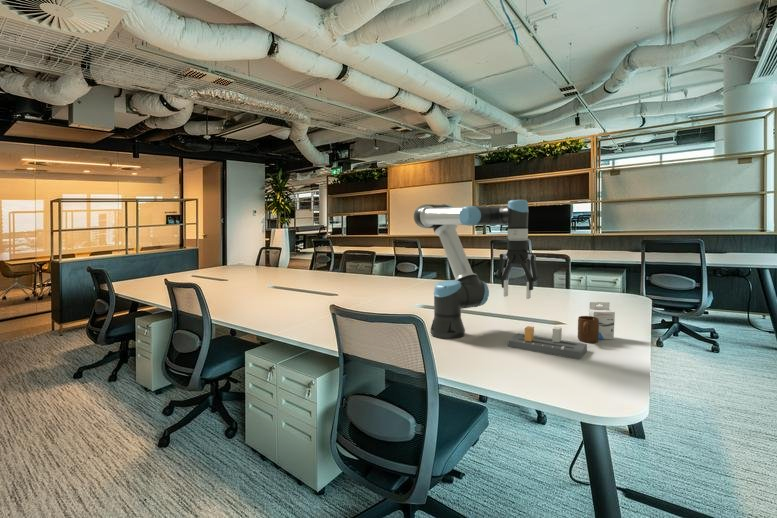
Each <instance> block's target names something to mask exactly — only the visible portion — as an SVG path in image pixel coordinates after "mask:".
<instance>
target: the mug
mask: <svg viewBox="0 0 777 518" xmlns="http://www.w3.org/2000/svg"><path fill="white" fill-rule="evenodd" d="M593 318H594V320H593ZM598 338H599V319H598V318H596V317H592V316H589V315H581V316H578V319H577V340H578V341H580V342H581V343H582V342H583V343H586V344H588V343H589V344H594V343H598V341H599V339H598Z"/></svg>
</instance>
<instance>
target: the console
mask: <svg viewBox="0 0 777 518" xmlns="http://www.w3.org/2000/svg"><path fill="white" fill-rule="evenodd" d="M507 347H509V348H514V349H519V350H526V351H531V352H536V353H541V354H548V355H553V356H559V357H563V358H569V359H575V360H581V358H583V356H584V355H585V354H586V353H587V351H588V343H585V342H583V343H582V342H578V341H577V342H576V341H571V340H570V341H569V340H564V339H561V341H560V342H553V341H552V337H551V338H550V337H546V336H545V337H543V336H538V335H534V340H532V341H531V342H530V341H525V333H520V332H519V333H516V334H515V335H514V336H512V337H511V338H509V339H507Z"/></svg>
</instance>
